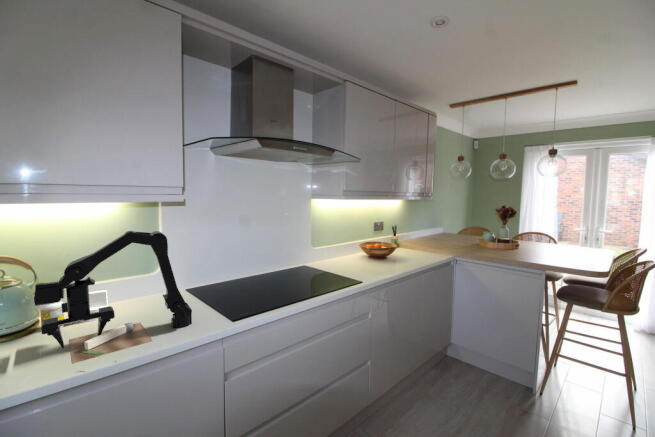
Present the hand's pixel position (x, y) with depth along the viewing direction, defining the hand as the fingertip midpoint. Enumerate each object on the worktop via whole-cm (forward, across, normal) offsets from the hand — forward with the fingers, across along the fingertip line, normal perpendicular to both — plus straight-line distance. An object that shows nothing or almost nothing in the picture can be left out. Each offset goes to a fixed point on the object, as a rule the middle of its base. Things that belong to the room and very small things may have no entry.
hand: (81, 343), depth 103 cm
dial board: (+3, -8, +1) cm, 9 cm away
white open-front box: (+4, -6, -27) cm, 27 cm away
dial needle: (+1, -8, +1) cm, 8 cm away
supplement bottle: (+4, +7, -28) cm, 29 cm away
